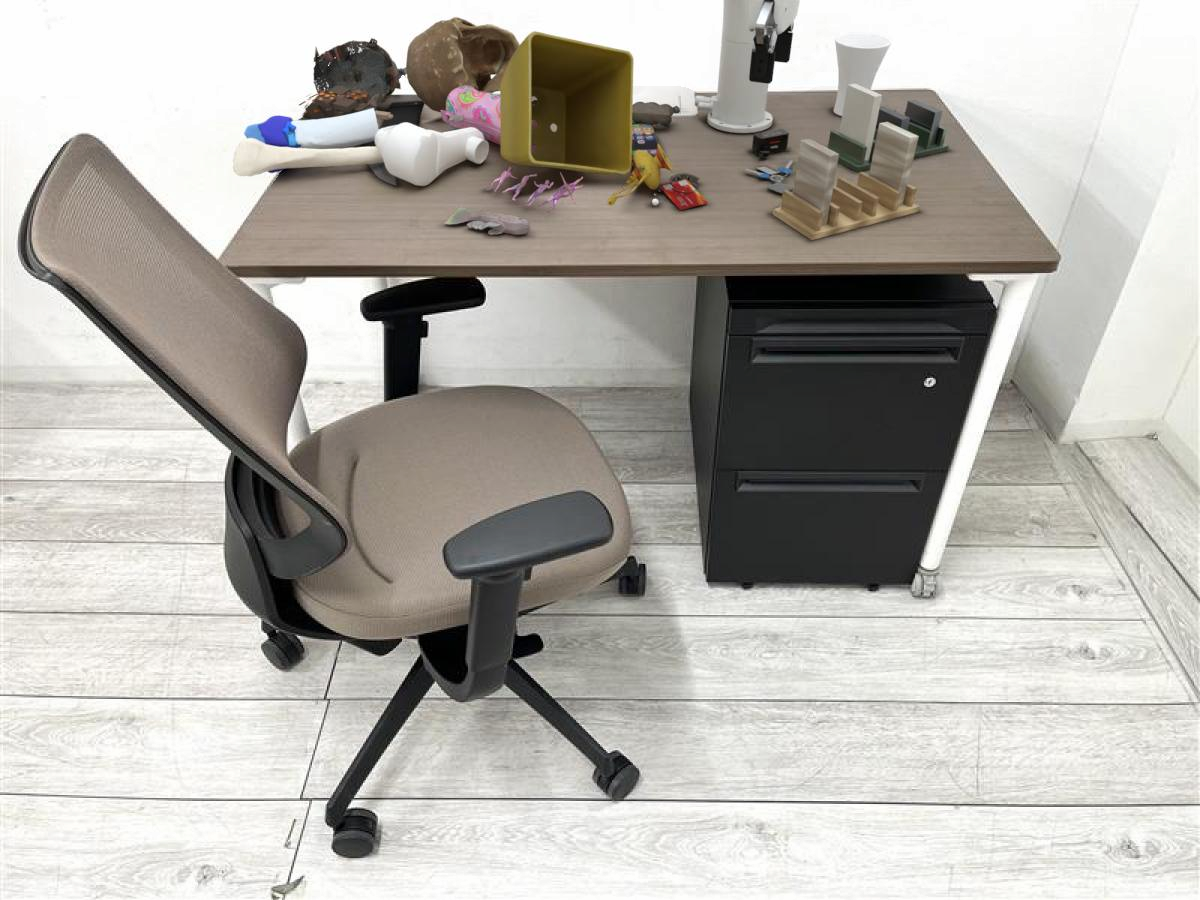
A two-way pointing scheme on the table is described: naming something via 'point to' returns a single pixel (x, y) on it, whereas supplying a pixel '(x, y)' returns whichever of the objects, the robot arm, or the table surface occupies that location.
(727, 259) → the table surface
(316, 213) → the table surface
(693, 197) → the card
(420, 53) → the skull
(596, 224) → the table surface
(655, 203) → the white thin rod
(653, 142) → the smartphone
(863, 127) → the white book
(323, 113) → the video game creature
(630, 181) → the magic lamp
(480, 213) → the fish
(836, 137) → the green rack
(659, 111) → the rhino figurine
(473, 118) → the pencil case
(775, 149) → the wireless earbuds
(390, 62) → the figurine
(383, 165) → the knife
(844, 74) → the cup
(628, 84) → the flower pot
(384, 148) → the white plastic bottle
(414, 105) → the smartphone
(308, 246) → the table surface
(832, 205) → the beige rack
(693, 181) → the corroded twin loop
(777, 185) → the key chain
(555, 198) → the people figure
